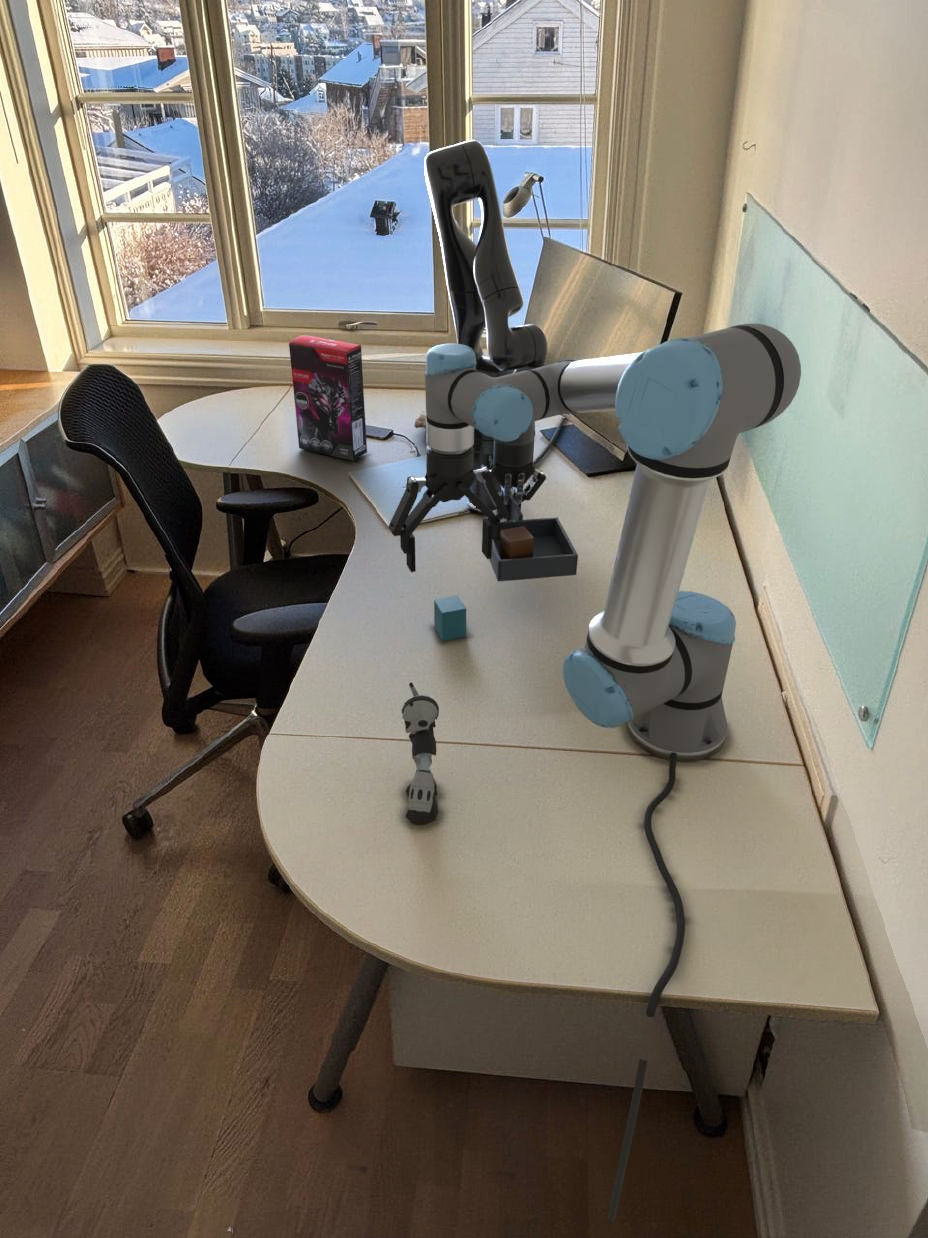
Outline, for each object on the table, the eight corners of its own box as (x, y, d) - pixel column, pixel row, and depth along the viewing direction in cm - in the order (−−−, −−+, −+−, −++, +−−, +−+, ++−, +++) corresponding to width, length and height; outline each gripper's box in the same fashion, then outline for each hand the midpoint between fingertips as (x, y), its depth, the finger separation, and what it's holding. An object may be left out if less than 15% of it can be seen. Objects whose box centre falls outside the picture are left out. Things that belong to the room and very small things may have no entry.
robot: (441, 856, 121) (440, 742, 110) (404, 858, 121) (400, 743, 110) (437, 755, 138) (436, 646, 127) (405, 756, 137) (401, 647, 126)
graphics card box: (296, 449, 231) (285, 340, 216) (313, 439, 236) (303, 333, 221) (353, 463, 224) (346, 352, 209) (369, 453, 229) (363, 343, 214)
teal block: (466, 636, 164) (466, 608, 160) (442, 641, 163) (442, 613, 159) (457, 623, 167) (457, 595, 164) (434, 627, 166) (434, 599, 163)
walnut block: (532, 567, 164) (534, 537, 161) (509, 571, 163) (510, 541, 159) (522, 555, 167) (523, 525, 164) (499, 559, 166) (500, 530, 163)
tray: (576, 575, 163) (578, 550, 160) (497, 581, 161) (498, 557, 158) (543, 511, 183) (545, 489, 180) (473, 516, 181) (473, 493, 178)
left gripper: (544, 425, 174) (539, 508, 184) (474, 430, 172) (473, 512, 182) (554, 441, 168) (548, 525, 178) (482, 446, 166) (480, 530, 176)
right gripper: (514, 426, 152) (508, 539, 163) (366, 445, 144) (372, 562, 156) (532, 444, 146) (525, 560, 158) (379, 465, 139) (384, 584, 151)
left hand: (510, 519), depth 180 cm, fingers closed on tray, 1 cm apart
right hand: (449, 561), depth 157 cm, fingers open, 13 cm apart
